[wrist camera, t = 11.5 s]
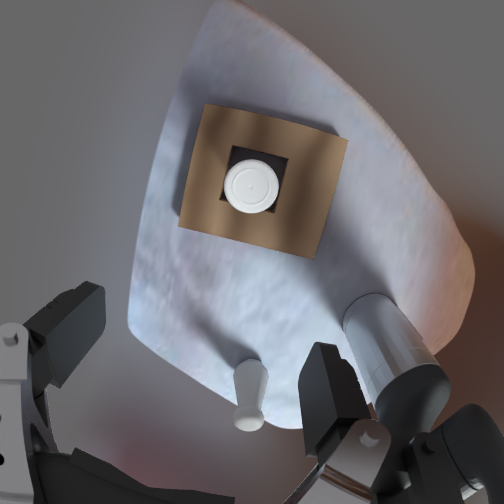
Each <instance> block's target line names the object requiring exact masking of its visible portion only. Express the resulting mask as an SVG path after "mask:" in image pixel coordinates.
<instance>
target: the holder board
mask: <svg viewBox="0 0 504 504" xmlns="http://www.w3.org/2000/svg"><path fill="white" fill-rule="evenodd" d="M347 144H348V140H347V139H345V138H342V137H339V136H336V135H333V134H330V133H327V132H324V131H320V130H317V129H314V128H311V127H307V126H304V125H301V124H297V123H293V122H290V121H286V120H282V119H278V118H274V117H270V116H266V115H262V114H258V113H253V112H248V111H244V110H239V109H234V108H229V107H223V106H217V105H211V104H205V105H204V109H203V113H202V117H201V120H200V124H199V128H198V132H197V136H196V141H195V145H194V149H193V153H192V158H191V162H190V167H189V172H188V176H187V181H186V186H185V191H184V196H183V201H182V207H181V212H180V218H179V224H178V227H183V228H187V229H191V230H195V231H199V232H203V233H207V234H212V235H216V236H220V237H224V238H228V239H232V240H236V241H240V242H244V243H248V244H252V245H256V246H261V247H265V248H269V249H273V250H277V251H281V252H285V253H289V254H293V255H297V256H301V257H305V258H309V259H313V260H314V257H315V254H316V251H317V248H318V245H319V242H320V238H321V235H322V232H323V229H324V226H325V222H326V219H327V216H328V213H329V209H330V206H331V202H332V199H333V195H334V192H335V188H336V185H337V181H338V178H339V174H340V170H341V167H342V163H343V159H344V155H345V151H346V147H347ZM234 146H237V147H241V148H246V149H250V150H254V151H258V152H263V153H267V154H271V155H274V156H278V157H282V158H286V159H287V162H286V165H285V169H284V173H283V177H282V181H281V184H280V188H279V192H278V196H277V200H276V203H275V207H274V210H271V209H265V210H264V211H261V212H258V213H245V212H242V211H239V210H237V209H236V208H234V207H233V206H232V205H231V204H230V203H229V201H228V200H227V199H226V198H222V194H223V190H224V182H225V178H226V175H227V173H228V169H229V165H230V160H231V156H232V152H233V148H234Z"/></svg>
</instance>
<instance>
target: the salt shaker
mask: <svg viewBox="0 0 504 504" xmlns="http://www.w3.org/2000/svg"><path fill="white" fill-rule="evenodd" d="M233 377H234V384H235V390H236V396H237V402H238V409H237V410H236V411H235V413H234V416H233V423H234V425H235V426H236V427H238V428H239V429H240V430H244V431H254V430H257V429H259V428H260V427H261V426H262V425H263V422H264V416H263V413H262V411H261V407H262V403H263V399H264V395H265V391H266V386H267V382H268V378H269V376H268V372H267V369H266V368H265V367H264V366H263V365H262V363H261V362H260V360H255V359H250V358H249V359H247V360H245V361H243V362H241V363H240V364H239V365H238V366H237V367H236V368H235V371H234V375H233Z"/></svg>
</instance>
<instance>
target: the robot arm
mask: <svg viewBox="0 0 504 504" xmlns="http://www.w3.org/2000/svg"><path fill="white" fill-rule="evenodd" d="M105 324H106V311H105V289H104V287H102V286H99V285H97V284H94V283H91V282H88V281H85V282H84V283H82V284H81V285H79V286H78V287H77V288H76V289H71V290H68V291H65V292H63V293H61V294H59V295H58V296H57V297H56V298H54V299H53V301H51V302H50V303H48V304H47V305H46V307H43V308H42V309H41V310H40V311H38V312H37V313H36V314H35V315H34V316H32V317H31V318H30V319H29V320H28V321H27V322H25V323H24V324H23V325H21V324H17V323H6V324H3V325H1V326H0V504H234V502H235V497H228V496H222V495H216V494H210V493H205V492H200V491H195V490H177V489H160V488H151V487H147V486H145V485H143V484H141V483H139V482H138V481H136V480H135V479H133V478H131V477H129V476H128V475H126V474H125V473H123V472H122V471H120V470H119V469H117V468H116V467H114V466H113V465H111V464H110V463H107V462H105V461H102V460H100V459H98V458H96V457H94V456H92V455H90V454H88V453H86V452H84V451H81V450H79V449H78V448H75V449H74V451H73V453H72V455H70V454H65V453H59V450H58V447H57V444H56V442H55V440H54V436H53V433H52V428H51V421H50V414H49V406H48V398H47V391H46V387H47V385H48V384H49V383H51V384H52V385H54V386H56V387H58V388H61V386H62V385H63V384H64V382H65V381H66V380H67V378H68V377H69V376H70V374H71V373H72V372H73V370H74V369H75V368H76V366H77V365H78V364H79V363H80V361H81V360H82V359H83V358H84V356H85V355H86V354H87V353H88V351H89V350H90V349H91V347H92V346H93V345H94V344H95V342H96V341H97V340H98V339H99V338H100V336H101V335H102V333H103V331H104V329H105ZM342 325H343V330H344V333H345V335H346V338H347V340H348V342H349V345H350V348H351V350H352V352H353V355H354V357H355V360H356V362H357V365H358V367H359V370H360V373H361V375H362V378H363V380H364V383H365V385H366V388H367V391H368V393H369V396H370V398H371V401H372V404H373V406H374V409H375V412H376V415H377V421H376V420H373V419H372V418H371V415H370V412H369V409H368V406H367V403H366V401H365V398H364V395H363V392H362V390H360V389H361V387H360V384H359V381H357V380H358V378H357V376H356V373H355V370H354V368H353V367H352V366H351V365H350V364H349V363H348V361H347V360H346V359H341V357H340V354H339V351H338V348H337V346H336V345H334V344H327V343H321V342H315V343H314V345H313V347H312V349H311V351H310V353H309V355H308V357H307V360H306V362H305V364H304V366H303V368H302V370H301V372H300V375H299V380H298V391H299V399H300V407H301V416H302V425H303V434H304V443H305V453H306V457H317V458H318V464H317V465H316V466H315V467H314V469H313V470H312V471H311V472H310V473H309V475H308V476H307V477H306V478H305V480H304V481H303V482H302V483H301V484H300V485H299V486H298V488H297V489H296V490H295V491H294V492H293V493H292V494H291V495H290V497H289V498H288V499H287V500H286V501H285V502H284V503H283V504H464V499H466V498H468V497H469V496H471V495H472V494H474V492H477V491H478V490H479V489H481V488H482V487H484V486H485V488H486V491H487V495H488V501H489V504H504V437H503V435H502V433H501V432H500V430H499V428H498V426H497V425H496V423H495V422H494V420H493V419H492V418H491V417H490V415H489V414H488V413H487V412H486V411H485V410H484V409H483V408H482V407H481V406H479V405H477V404H472V403H470V404H467V405H465V406H464V407H462V408H461V409H459V410H458V411H457V412H456V413H455V414H453V415H452V416H451V417H450V418H448V419H447V420H446V421H445V422H443V423H442V424H441V425H440V426H438V427H437V428H436V429H435V430H433V431H432V432H431V433H429V431H430V428H431V427H432V425H433V423H434V421H435V420H436V418H437V417H438V415H439V414H440V412H441V411H442V409H443V407H444V406H445V404H446V403H447V401H448V399H449V396H450V392H451V384H450V380H449V378H448V376H447V375H446V373H445V372H444V370H443V369H442V368H441V367H440V365H439V364H438V362H437V361H436V359H435V358H434V357H433V355H432V354H431V352H430V351H429V350H428V348H427V347H426V346H425V344H424V343H423V338H422V337H421V335H420V334H419V333H418V331H417V330H416V329H415V327H414V326H413V325H412V324H411V322H410V321H409V320H408V318H407V317H406V316H405V315H404V313H403V312H402V311H401V310H400V308H399V307H397V306H395V305H394V304H393V302H392V301H391V300H390V299H389V298H388V297H386V296H385V295H382V294H368V295H365V296H363V297H361V298H359V299H357V300H356V301H355V302H354V303H352V304H351V306H350V307H349V308H348V309H347V311H346V313H345V315H344V318H343V324H342Z"/></svg>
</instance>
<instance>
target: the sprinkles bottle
mask: <svg viewBox="0 0 504 504" xmlns="http://www.w3.org/2000/svg"><path fill="white" fill-rule="evenodd" d="M278 189H279V184H278V179H277V176H276V174H275V172H274V171H273V169H272V168H271V167H270V166H269V165H267V164H266V163H264V162H262V161H259V160H253V159H251V160H244V161H241V162H239V163H237V164H236V165H234V166H233V167H232V168H231V169H230V170H229V172H228V173H227V175H226V178H225V182H224V191H225V195H226V198H227V200H228V201H229V203H230V204H231V205H232V206H233V207H234V208H236V209H237V210H239V211H242V212H245V213H258V212H261V211H264V210H265V209H267V208H268V207H270V206H271V205H272V203H273V202H274V201H275V199H276V197H277V194H278Z"/></svg>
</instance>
